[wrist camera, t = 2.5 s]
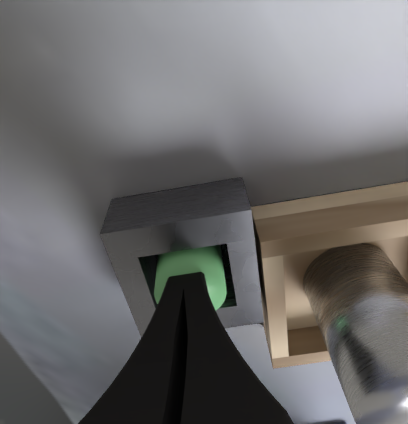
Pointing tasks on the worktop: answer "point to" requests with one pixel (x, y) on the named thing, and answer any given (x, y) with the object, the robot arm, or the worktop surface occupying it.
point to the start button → (193, 270)
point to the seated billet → (363, 328)
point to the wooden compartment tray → (310, 249)
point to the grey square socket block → (185, 244)
